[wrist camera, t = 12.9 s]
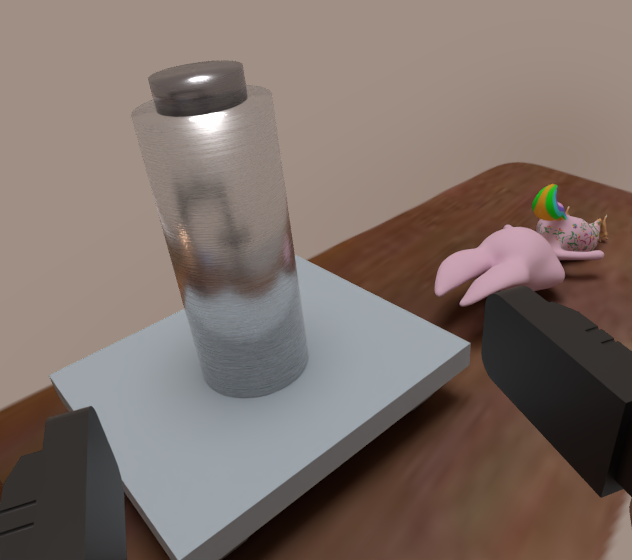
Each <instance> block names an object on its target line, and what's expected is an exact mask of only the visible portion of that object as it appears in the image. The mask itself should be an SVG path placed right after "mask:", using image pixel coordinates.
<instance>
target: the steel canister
mask: <svg viewBox="0 0 632 560" xmlns="http://www.w3.org/2000/svg"><path fill="white" fill-rule="evenodd" d="M148 80H149V84H150V88H151V92H152V96H153V100H151V101H148V102H146V103H144V104H142V105H140V106H139V107H137V108H136V109H135V110H134V111H133V112H132V114H131V117H132V120H133V124H134V127H135V131H136V135H137V138H138V142H139V146H140V149H141V153H142V157H143V160H144V164H145V167H146V171H147V175H148V178H149V182H150V185H151V188H152V192H153V196H154V200H155V204H156V207H157V211H158V214H159V218H160V222H161V225H162V229H163V233H164V236H165V240H166V243H167V247H168V250H169V254H170V258H171V261H172V265H173V269H174V272H175V276H176V279H177V283H178V287H179V290H180V294H181V298H182V301H183V305H184V308H185V312H186V316H187V319H188V323H189V327H190V330H191V334H192V337H193V341H194V345H195V348H196V352H197V355H198V359H199V363H200V366H201V370H202V374H203V377H204V380H205V382H206V383H207V385H208V386H209V387H210V388H211V389H213V390H214V391H216V392H217V393H219V394H222V395H224V396H228V397H233V398H243V399H245V398H257V397H262V396H267V395H270V394H273V393H275V392H278V391H280V390H282V389H284V388H286V387H287V386H289V385H290V384H292V383H293V382H294V381H295V380H297V379H298V378H299V376H300V375H301V374H302V373H303V371H304V370H305V368H306V366H307V363H308V358H309V353H308V346H307V339H306V332H305V325H304V318H303V311H302V303H301V296H300V289H299V282H298V275H297V268H296V261H295V254H294V247H293V240H292V233H291V226H290V219H289V212H288V205H287V197H286V190H285V183H284V177H283V170H282V162H281V155H280V148H279V141H278V134H277V127H276V120H275V113H274V105H273V98H272V93H271V91H270V90H268V89H266V88H263V87H259V86H252V85H246V83H245V77H244V71H243V65H242V63H240V62H236V61H206V62H198V63H192V64H186V65H181V66H176V67H172V68H168V69H165V70H162V71H159V72H156V73H154V74H152V75H151V76H150V77H149V78H148Z"/></svg>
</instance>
